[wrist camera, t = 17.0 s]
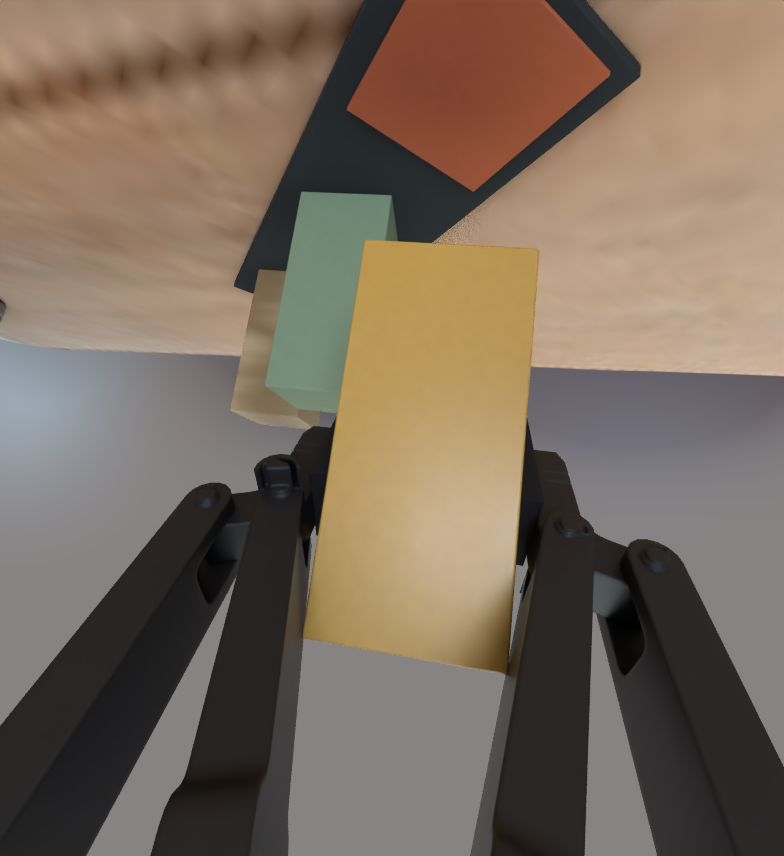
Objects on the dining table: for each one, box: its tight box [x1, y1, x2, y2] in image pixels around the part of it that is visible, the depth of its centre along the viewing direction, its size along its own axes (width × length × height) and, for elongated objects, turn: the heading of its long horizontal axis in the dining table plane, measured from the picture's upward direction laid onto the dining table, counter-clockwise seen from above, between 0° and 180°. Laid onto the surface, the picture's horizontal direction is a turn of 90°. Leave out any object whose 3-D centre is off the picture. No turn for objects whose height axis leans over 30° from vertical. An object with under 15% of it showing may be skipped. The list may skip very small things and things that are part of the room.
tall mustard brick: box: [303, 240, 539, 674], centre depth 13 cm, size 5×5×11 cm
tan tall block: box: [230, 269, 321, 429], centre depth 32 cm, size 5×5×11 cm
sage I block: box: [265, 192, 398, 413], centre depth 23 cm, size 5×5×11 cm
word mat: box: [234, 0, 641, 293], centre depth 24 cm, size 28×9×1 cm, turn 149°
